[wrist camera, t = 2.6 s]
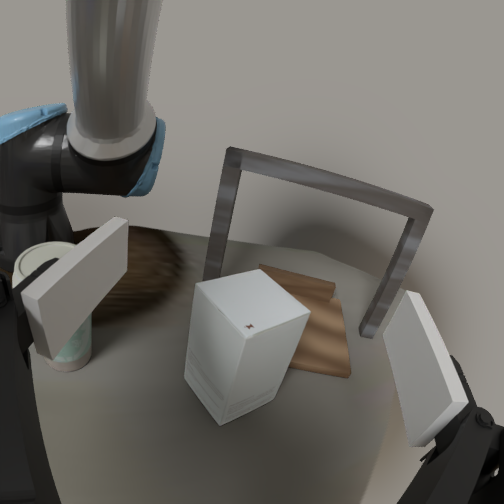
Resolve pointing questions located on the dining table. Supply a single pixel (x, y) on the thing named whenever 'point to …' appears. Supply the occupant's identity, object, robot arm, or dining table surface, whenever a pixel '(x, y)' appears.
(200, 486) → the dining table surface
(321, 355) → the keeper arch
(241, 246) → the dining table surface
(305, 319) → the supplement box
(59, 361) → the coffee cup
